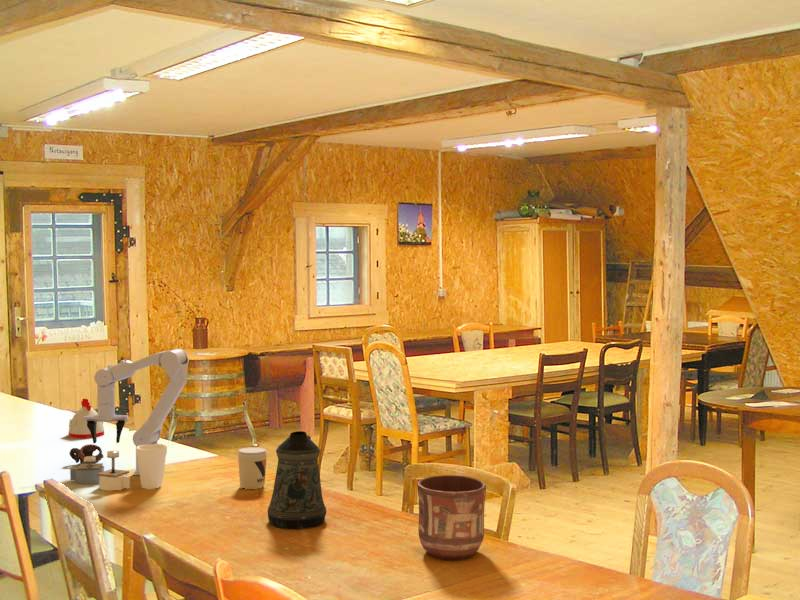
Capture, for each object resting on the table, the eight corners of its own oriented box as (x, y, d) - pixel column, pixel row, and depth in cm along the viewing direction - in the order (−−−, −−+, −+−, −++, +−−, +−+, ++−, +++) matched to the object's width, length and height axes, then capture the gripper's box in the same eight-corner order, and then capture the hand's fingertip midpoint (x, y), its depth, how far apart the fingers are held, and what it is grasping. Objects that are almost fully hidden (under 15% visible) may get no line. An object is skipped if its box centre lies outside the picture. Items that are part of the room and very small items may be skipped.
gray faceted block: (105, 477, 318) (105, 462, 318) (101, 483, 310) (100, 468, 309) (73, 478, 317) (73, 463, 316) (68, 484, 308) (67, 469, 308)
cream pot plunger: (104, 474, 303) (104, 452, 303) (112, 472, 307) (112, 450, 306) (114, 475, 302) (113, 453, 302) (121, 473, 305) (121, 451, 305)
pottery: (401, 552, 242) (402, 482, 241) (447, 538, 254) (449, 471, 253) (452, 569, 229) (454, 496, 228) (499, 554, 241) (500, 483, 240)
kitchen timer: (96, 430, 401) (95, 395, 400) (109, 435, 391) (109, 399, 390) (63, 434, 392) (63, 398, 391) (76, 439, 382) (76, 402, 381)
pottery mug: (105, 462, 343) (107, 445, 339) (96, 479, 335) (98, 462, 331) (72, 454, 342) (74, 436, 338) (62, 471, 334) (64, 453, 330)
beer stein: (271, 531, 258) (271, 440, 257) (262, 512, 277) (262, 427, 276) (331, 527, 263) (332, 437, 261) (318, 509, 281) (319, 425, 280)
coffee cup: (261, 491, 302) (261, 453, 302) (233, 489, 304) (233, 452, 303) (270, 484, 311) (271, 447, 311) (243, 482, 313) (243, 446, 313)
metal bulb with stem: (96, 477, 315) (96, 455, 315) (94, 479, 312) (94, 458, 311) (85, 477, 315) (85, 456, 314) (83, 479, 311) (83, 458, 311)
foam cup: (144, 492, 300) (143, 451, 299) (131, 486, 307) (131, 446, 306) (171, 487, 306) (171, 447, 305) (159, 482, 313) (159, 442, 312)
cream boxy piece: (93, 489, 302) (93, 473, 302) (111, 483, 310) (111, 468, 310) (120, 492, 298) (120, 476, 298) (137, 486, 306) (137, 471, 306)
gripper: (129, 401, 331) (129, 439, 332) (86, 401, 329) (86, 440, 330) (126, 404, 324) (126, 443, 325) (82, 404, 322) (82, 444, 323)
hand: (106, 442), depth 327 cm, fingers open, 7 cm apart
